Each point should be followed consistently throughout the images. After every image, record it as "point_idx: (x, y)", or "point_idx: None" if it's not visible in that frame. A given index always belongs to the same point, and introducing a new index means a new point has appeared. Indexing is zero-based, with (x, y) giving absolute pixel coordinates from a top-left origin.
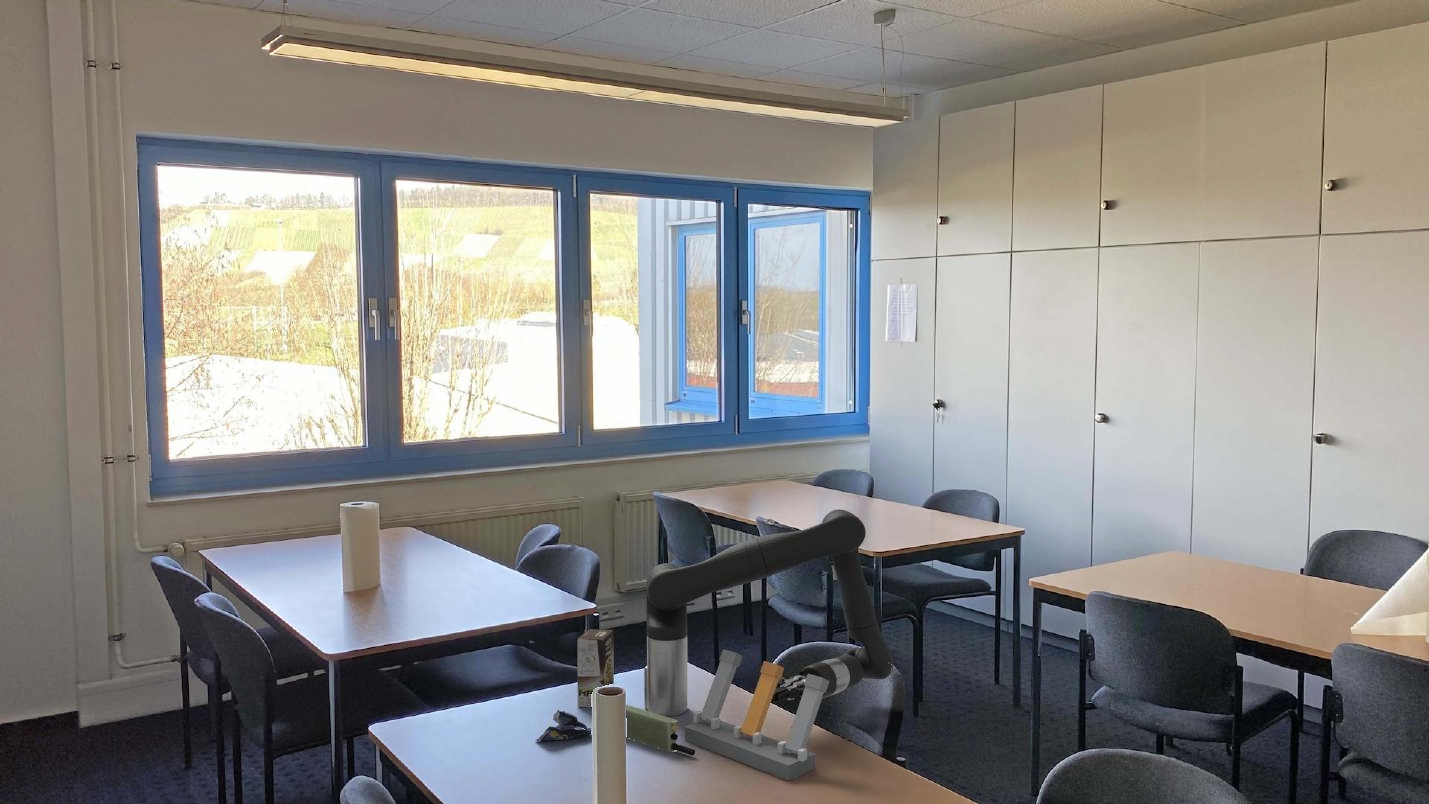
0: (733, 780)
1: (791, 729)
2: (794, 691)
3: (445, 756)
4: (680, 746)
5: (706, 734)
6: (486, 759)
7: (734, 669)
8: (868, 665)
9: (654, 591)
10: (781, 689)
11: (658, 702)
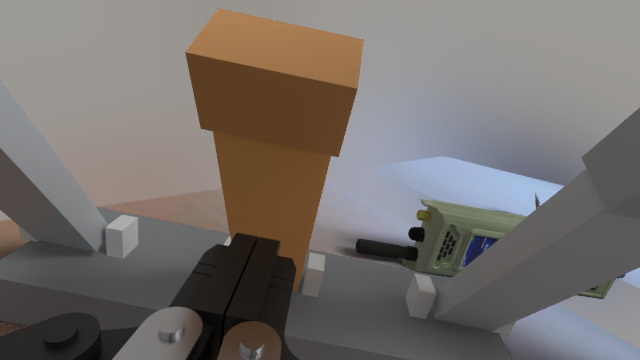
0: (220, 215)
1: (83, 193)
2: (101, 342)
3: (530, 186)
4: (392, 244)
5: (386, 265)
6: (506, 189)
7: (582, 208)
8: None
9: None
10: (228, 285)
11: None
